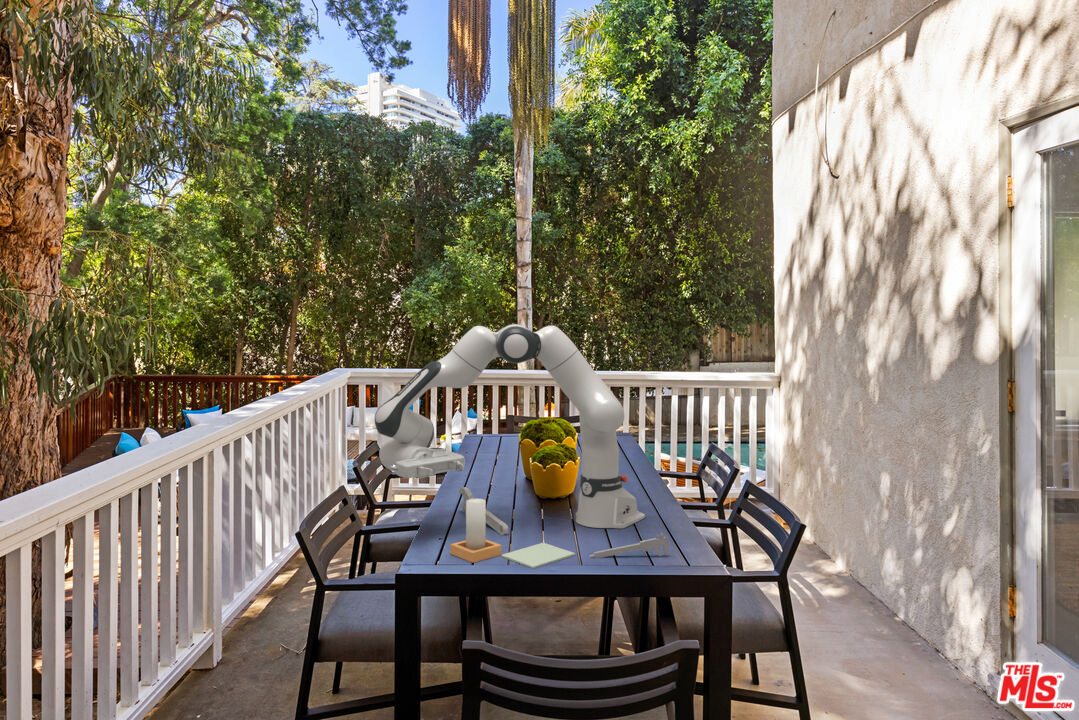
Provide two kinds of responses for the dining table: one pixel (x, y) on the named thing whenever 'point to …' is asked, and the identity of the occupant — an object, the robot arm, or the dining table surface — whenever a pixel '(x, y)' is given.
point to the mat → (538, 555)
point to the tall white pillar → (475, 524)
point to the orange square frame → (477, 555)
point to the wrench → (490, 518)
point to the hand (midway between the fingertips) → (447, 470)
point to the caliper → (636, 547)
